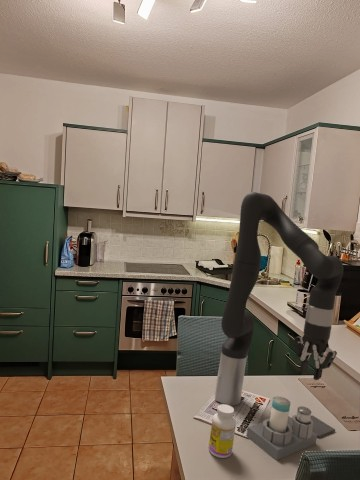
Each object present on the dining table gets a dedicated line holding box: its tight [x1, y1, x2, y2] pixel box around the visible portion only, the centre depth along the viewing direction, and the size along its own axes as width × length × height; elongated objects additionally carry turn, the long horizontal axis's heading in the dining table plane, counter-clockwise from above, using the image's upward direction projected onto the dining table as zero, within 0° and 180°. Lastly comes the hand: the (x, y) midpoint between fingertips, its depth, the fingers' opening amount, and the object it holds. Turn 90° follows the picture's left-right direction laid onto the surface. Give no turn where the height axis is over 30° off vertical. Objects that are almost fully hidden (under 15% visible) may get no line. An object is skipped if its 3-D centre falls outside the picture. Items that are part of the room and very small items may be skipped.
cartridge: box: [269, 395, 291, 433], centre depth 112 cm, size 5×5×11 cm
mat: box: [310, 414, 336, 439], centre depth 125 cm, size 9×9×1 cm
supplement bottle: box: [208, 403, 237, 459], centre depth 106 cm, size 7×7×13 cm
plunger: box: [296, 406, 312, 425], centre depth 115 cm, size 4×4×5 cm
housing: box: [246, 414, 318, 461], centre depth 115 cm, size 18×12×7 cm, turn 124°
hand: (309, 375), depth 114 cm, fingers open, 4 cm apart
